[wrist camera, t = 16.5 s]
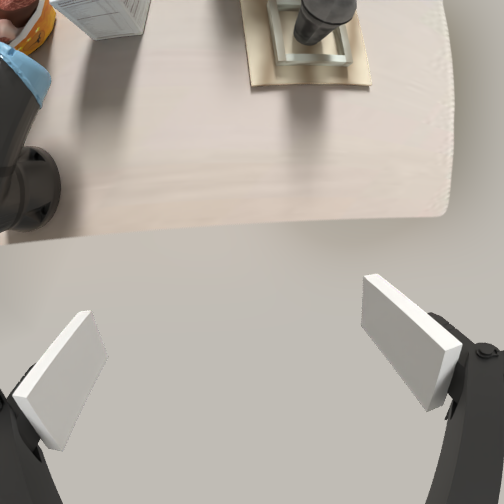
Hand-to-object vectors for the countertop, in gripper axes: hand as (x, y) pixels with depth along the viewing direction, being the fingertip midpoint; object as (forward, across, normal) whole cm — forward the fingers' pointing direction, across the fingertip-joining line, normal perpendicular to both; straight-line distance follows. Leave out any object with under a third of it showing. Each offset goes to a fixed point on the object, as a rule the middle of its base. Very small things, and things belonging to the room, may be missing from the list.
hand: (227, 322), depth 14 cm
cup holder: (+35, +16, +28) cm, 47 cm away
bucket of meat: (+35, -34, +42) cm, 64 cm away
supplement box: (+35, -14, +37) cm, 53 cm away
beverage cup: (+34, +16, +28) cm, 47 cm away
